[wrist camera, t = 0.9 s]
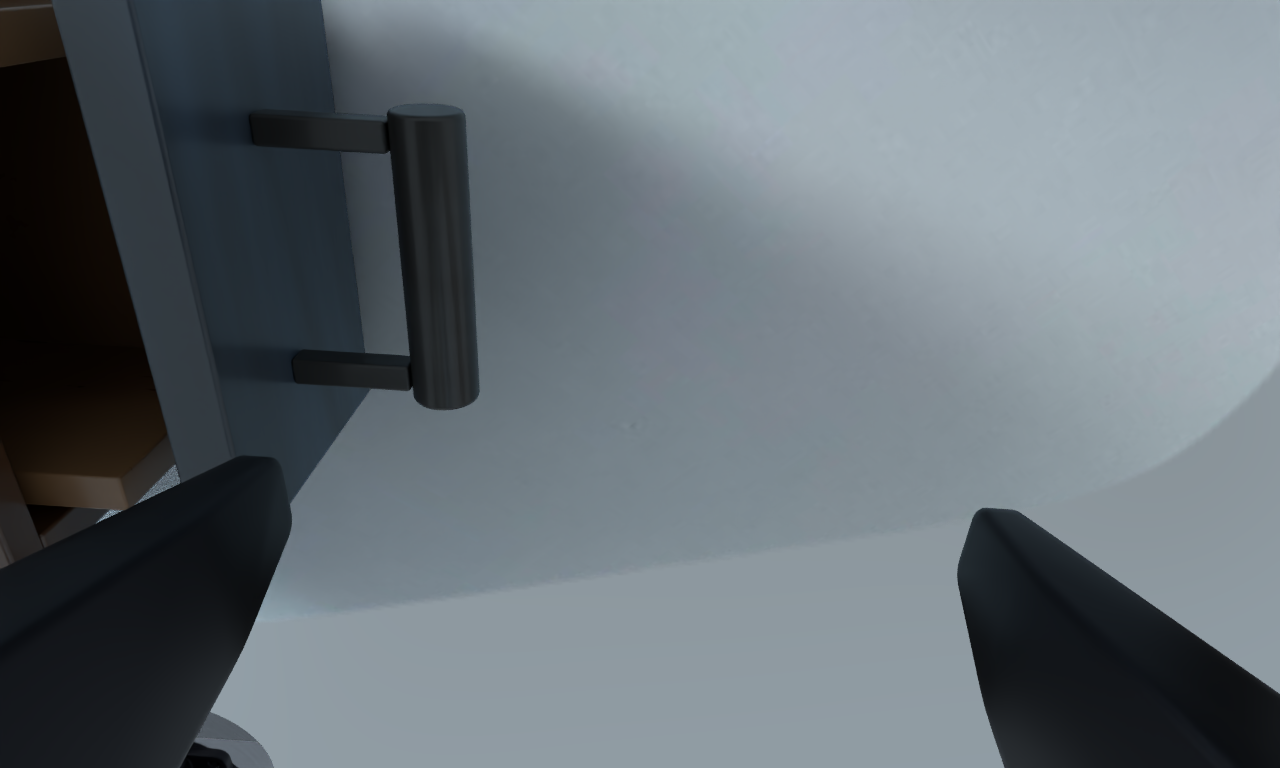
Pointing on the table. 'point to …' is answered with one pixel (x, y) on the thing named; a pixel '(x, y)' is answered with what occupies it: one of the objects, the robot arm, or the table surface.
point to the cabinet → (34, 519)
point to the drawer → (204, 245)
